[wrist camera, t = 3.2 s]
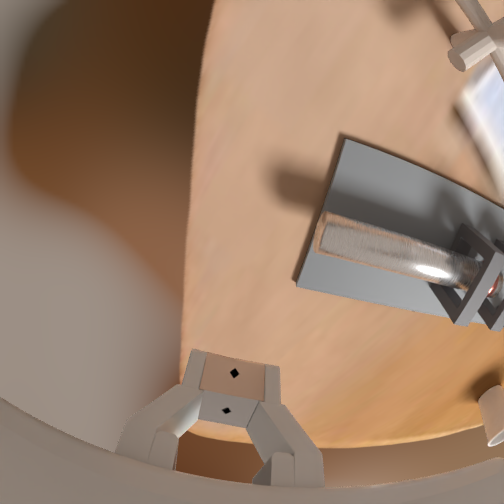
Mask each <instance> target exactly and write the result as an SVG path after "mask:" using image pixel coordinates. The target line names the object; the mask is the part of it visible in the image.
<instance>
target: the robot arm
mask: <svg viewBox="0 0 504 504" xmlns="http://www.w3.org/2000/svg"><path fill="white" fill-rule="evenodd" d="M198 419H200V420H205V421H211V422H216V423H222V424H227V425H232V426H237V427H242V428H246V430H247V432H248V434H249V436H250V438H251V440H252V442H253V444H254V445H255V447H256V449H257V451H258V453H259V455H260V457H261V458H262V460H263V462H264V464H265V465H264V466H263V467H262V468H261V469H260V471H259V472H258V473H257V474H256V475H255V477H254V478H253V481H252V484H246V483H238V482H231V481H224V480H218V479H212V478H206V477H201V476H196V475H191V474H187V473H182V472H178V471H175V468H176V460H177V450H178V441H179V439H178V438H179V437H180V436H181V435H182V434H183V433H184V432H186V431H187V430H188V429H189V428H190V427H191V426H192V425H193V424H194V423H195V422H196V421H197V420H198ZM0 504H504V459H503V458H501V457H496V458H492V459H490V460H487V461H484V462H481V463H478V464H474V465H471V466H468V467H464V468H460V469H457V470H453V471H449V472H445V473H441V474H437V475H432V476H427V477H422V478H417V479H411V480H406V481H399V482H392V483H384V484H375V485H364V486H351V487H325V484H324V469H323V457H322V453H321V452H320V451H319V449H318V448H317V447H316V446H315V444H314V443H313V442H312V440H311V439H310V438H309V436H308V435H307V434H306V433H305V431H304V430H303V429H302V427H301V426H300V425H299V423H298V422H297V421H296V419H295V418H294V417H293V415H292V414H291V413H290V411H289V410H288V408H287V407H286V406H285V405H282V404H281V391H280V368H279V366H274V365H268V364H263V363H257V362H252V361H246V360H241V359H234V358H230V357H226V356H222V355H217V354H213V353H209V352H205V351H201V350H197V349H192V351H191V353H190V357H189V360H188V364H187V368H186V371H185V375H184V378H183V382H182V385H179V384H177V385H175V386H174V387H173V388H171V389H170V390H168V391H167V392H166V393H164V394H163V395H161V396H160V397H159V398H157V399H156V400H154V401H153V402H151V403H150V404H148V405H147V406H146V407H144V408H143V409H141V410H140V411H138V412H137V413H135V414H134V415H132V416H131V417H130V418H128V419H127V420H126V423H125V426H124V428H123V431H122V434H121V436H120V439H119V442H118V445H117V448H116V450H115V453H114V452H111V451H108V450H106V449H103V448H100V447H98V446H95V445H93V444H90V443H88V442H85V441H83V440H81V439H78V438H76V437H74V436H72V435H69V434H67V433H65V432H63V431H61V430H59V429H57V428H55V427H53V426H50V425H48V424H46V423H45V422H43V421H41V420H39V419H37V418H35V417H33V416H32V415H30V414H28V413H26V412H24V411H23V410H21V409H19V408H18V407H16V406H14V405H12V404H11V403H9V402H8V401H6V400H5V399H3V398H1V397H0Z"/></svg>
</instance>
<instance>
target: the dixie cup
mask: <svg viewBox="0 0 504 504" xmlns="http://www.w3.org/2000/svg"><path fill="white" fill-rule="evenodd" d="M478 404H479V408H480V411H481V415H482V419H483V423H484V427H485V430H486V435H487V439H488V446H494V445H496V444H499V443H500V442H502V441H504V389H503V388H502V387H501V385H496V386H494V387H492V388H490V389H489V390H487V391H486V392H485V393H484V394H483V395H482V396H481V397H480V398H479V400H478Z"/></svg>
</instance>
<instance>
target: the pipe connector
mask: <svg viewBox="0 0 504 504" xmlns="http://www.w3.org/2000/svg"><path fill="white" fill-rule="evenodd" d="M455 1H456V2H457V3H458V5H459V6H460V8H461V9H462V10H463V12H464V13H465V15H466V16H467V18H468V19H469V21H470V22H471V24H472V25H473V27H474V28H475V29H473V30H468V31H464V32H460V33H456V34H453V35H452V36H451V44H452V46H453V47H454V48H452V49H451V50H449V51H448V58H449V60H450V62H451V63H452V64H453V66H454V67H455V68H456V69H458V70H459V71H462V72H464V71H466V70H467V69H468V68H470V67H471V66H473V65H474V64H476V63H477V62H478V61H480V60H481V59H483V58H484V57H486V56H487V55H488V54H490V55H491V57H492V59H493V61H494V63H495V65H496V67H497V69H498V71H499V73H500V75H501V77H502V79H503V81H504V17H503V18H501V19H499V20H498V21H496V22H494V23H493V24H492V22H491V21H490V19H489V17H488V16H487V14H486V13H485V11H484V10H483V8H482V7H481V5H480V4H479V2H478V1H477V0H455Z"/></svg>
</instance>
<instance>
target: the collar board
mask: <svg viewBox="0 0 504 504" xmlns="http://www.w3.org/2000/svg"><path fill="white" fill-rule="evenodd" d="M324 211H327V212H331V213H334V214H338V215H341V216H345V217H348V218H352V219H355V220H359V221H362V222H365V223H369V224H372V225H375V226H379V227H382V228H385V229H388V230H391V231H395V232H398V233H401V234H404V235H407V236H410V237H413V238H416V239H419V240H422V241H425V242H428V243H431V244H434V245H437V246H440V247H443V248H446V249H449V250H452V251H454V252H457V253H460V254H463V255H466V256H468V257H471V258H474V259H476V260H479V261H484V262H483V264H482V266H481V268H480V270H479V271H478V273H477V275H476V277H475V279H474V281H473V282H472V284H471V286H470V288H469V289H468V291H467V292H466V291H463V290H459V289H455V288H451V287H448V286H444V285H440V284H436V283H432V282H428V281H425V280H421V279H417V278H413V277H409V276H405V275H401V274H397V273H394V272H390V271H386V270H382V269H378V268H374V267H370V266H366V265H362V264H358V263H354V262H350V261H346V260H342V259H338V258H334V257H330V256H326V255H322V254H318V253H315V252H314V250H313V240H314V234H315V231H314V234H313V237H312V240H311V243H310V245H309V248H308V251H307V254H306V257H305V259H304V262H303V265H302V268H301V270H300V273H299V276H298V278H297V281H296V287H300V288H305V289H309V290H314V291H319V292H323V293H328V294H333V295H337V296H342V297H347V298H352V299H356V300H361V301H366V302H371V303H376V304H381V305H386V306H391V307H396V308H401V309H406V310H411V311H416V312H421V313H427V314H432V315H437V316H443V317H448V318H450V319H451V320H452V322H453V323H454V324H455V325H461V326H468V325H469V323H470V322H476V323H481V324H486V325H487V326H488V328H489V329H490V330H493V331H499V332H500V331H501V330H502V328H503V327H504V209H502V208H501V207H499V206H497V205H495V204H494V203H492V202H490V201H488V200H486V199H485V198H483V197H481V196H479V195H477V194H475V193H473V192H472V191H470V190H468V189H466V188H464V187H462V186H460V185H458V184H456V183H454V182H452V181H450V180H448V179H445V178H443V177H441V176H439V175H437V174H435V173H433V172H430V171H428V170H426V169H424V168H421V167H419V166H417V165H414V164H412V163H410V162H407V161H405V160H402V159H400V158H397V157H395V156H392V155H390V154H387V153H385V152H382V151H380V150H377V149H374V148H372V147H369V146H366V145H363V144H360V143H358V142H355V141H352V140H349V139H346V138H344V142H343V145H342V148H341V152H340V155H339V158H338V161H337V164H336V168H335V171H334V174H333V177H332V180H331V183H330V186H329V189H328V193H327V196H326V199H325V202H324V205H323V208H322V211H321V214H322V213H323V212H324ZM321 214H320V216H321ZM319 218H320V217H319ZM318 221H319V219H318ZM317 223H318V222H317ZM316 226H317V225H316ZM315 230H316V228H315ZM500 271H502V274H503V286H502V289H501V291H500V292H499V294H498V295H497V296H495V297H493V298H489V297H487V298H486V296H487V295H488V293H489V291H490V289H491V288H492V286H493V284H494V282H495V281H496V279H497V277H498V275H499V273H500Z"/></svg>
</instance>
